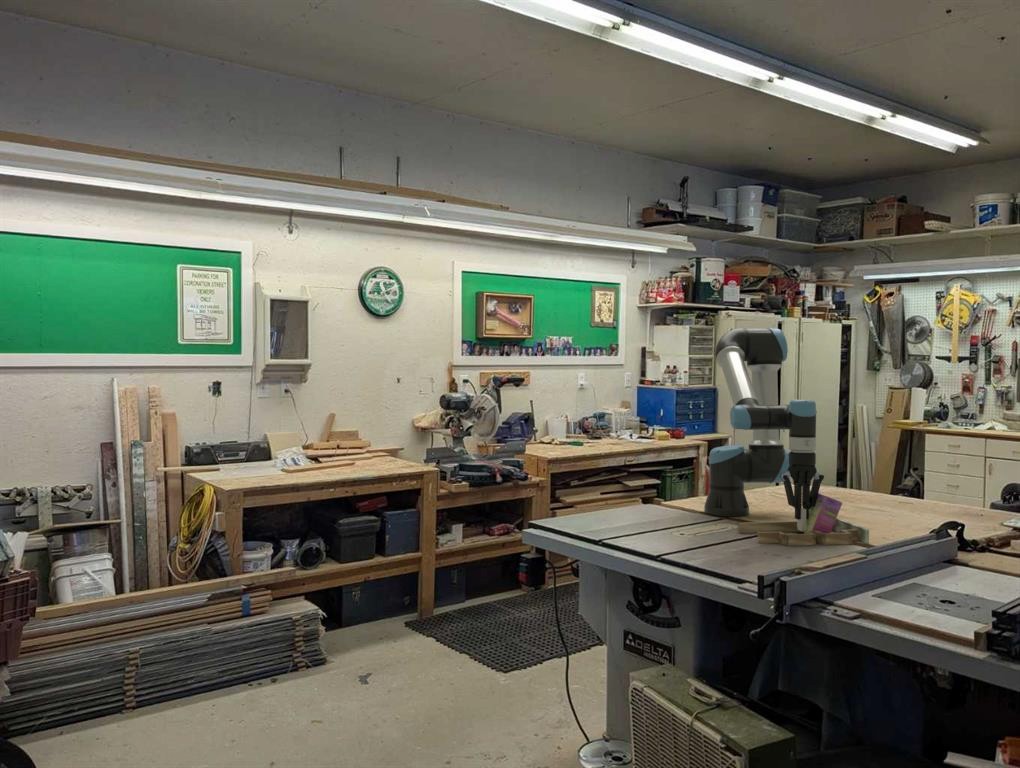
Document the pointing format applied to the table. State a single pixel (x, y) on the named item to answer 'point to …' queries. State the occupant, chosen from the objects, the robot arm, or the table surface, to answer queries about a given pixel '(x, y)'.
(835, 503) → the box
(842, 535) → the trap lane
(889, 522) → the table surface
